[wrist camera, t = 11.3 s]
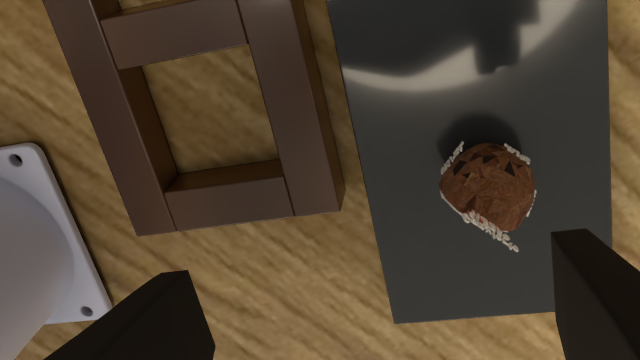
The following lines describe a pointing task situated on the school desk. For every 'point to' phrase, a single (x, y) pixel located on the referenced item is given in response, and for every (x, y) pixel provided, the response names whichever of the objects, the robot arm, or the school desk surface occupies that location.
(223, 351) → the school desk surface
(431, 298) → the board
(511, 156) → the chocolate
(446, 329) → the school desk surface
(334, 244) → the school desk surface
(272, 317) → the school desk surface
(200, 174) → the rack
